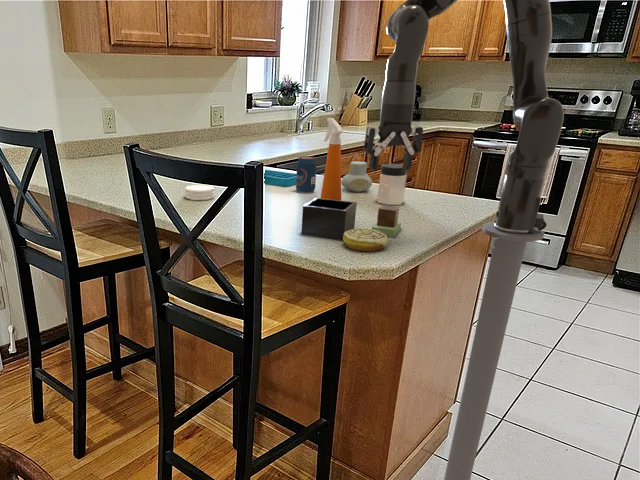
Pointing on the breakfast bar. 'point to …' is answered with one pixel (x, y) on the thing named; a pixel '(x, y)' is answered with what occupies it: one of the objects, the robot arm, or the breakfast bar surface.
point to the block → (387, 216)
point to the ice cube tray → (279, 178)
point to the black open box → (328, 218)
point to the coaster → (199, 192)
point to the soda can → (306, 174)
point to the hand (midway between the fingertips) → (390, 170)
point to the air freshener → (357, 177)
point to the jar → (392, 184)
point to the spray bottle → (332, 163)
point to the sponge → (388, 229)
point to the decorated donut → (365, 239)
